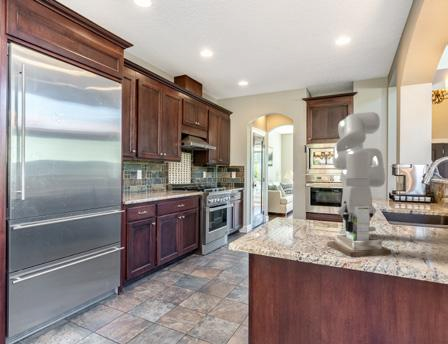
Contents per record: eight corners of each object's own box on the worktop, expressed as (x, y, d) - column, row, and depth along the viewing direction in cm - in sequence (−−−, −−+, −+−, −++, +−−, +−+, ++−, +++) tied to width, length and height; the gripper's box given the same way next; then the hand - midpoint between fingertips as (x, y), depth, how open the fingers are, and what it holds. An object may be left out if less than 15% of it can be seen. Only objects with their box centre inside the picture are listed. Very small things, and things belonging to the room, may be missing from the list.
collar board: (363, 243, 106) (363, 232, 106) (391, 254, 93) (391, 241, 93) (327, 245, 104) (327, 234, 104) (350, 256, 90) (350, 243, 90)
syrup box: (345, 241, 101) (345, 203, 101) (360, 240, 101) (360, 203, 101) (354, 245, 95) (354, 205, 95) (369, 245, 96) (369, 205, 95)
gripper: (370, 182, 103) (370, 228, 103) (330, 183, 100) (330, 230, 100) (385, 183, 96) (385, 232, 96) (342, 184, 93) (342, 234, 93)
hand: (357, 230), depth 98 cm, fingers closed on syrup box, 6 cm apart
